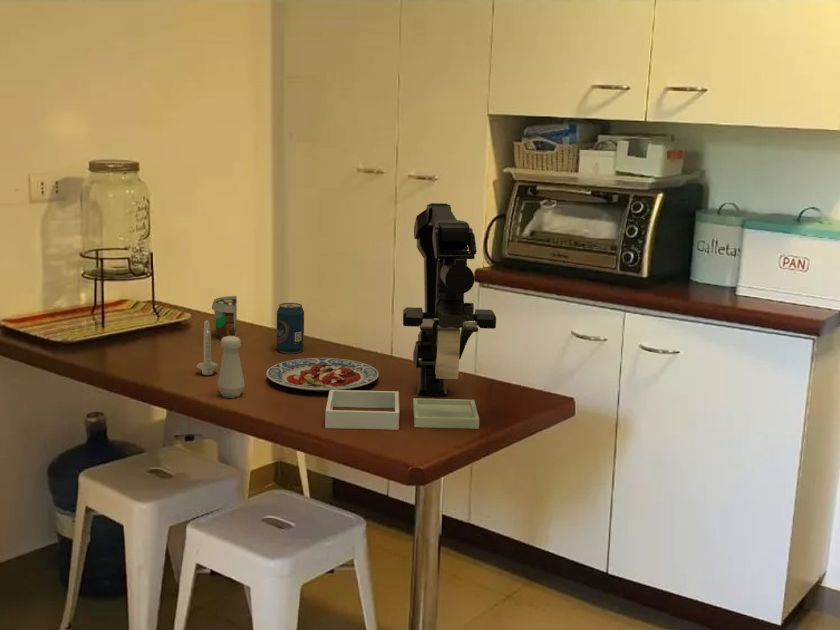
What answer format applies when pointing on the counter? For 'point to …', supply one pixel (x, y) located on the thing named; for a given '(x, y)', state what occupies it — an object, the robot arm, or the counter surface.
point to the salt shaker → (230, 368)
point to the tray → (445, 413)
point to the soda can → (290, 328)
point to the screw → (207, 352)
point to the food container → (225, 316)
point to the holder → (362, 417)
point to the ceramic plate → (322, 374)
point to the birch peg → (447, 352)
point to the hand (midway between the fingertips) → (447, 358)
